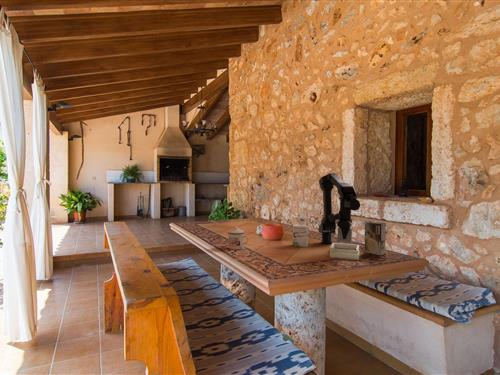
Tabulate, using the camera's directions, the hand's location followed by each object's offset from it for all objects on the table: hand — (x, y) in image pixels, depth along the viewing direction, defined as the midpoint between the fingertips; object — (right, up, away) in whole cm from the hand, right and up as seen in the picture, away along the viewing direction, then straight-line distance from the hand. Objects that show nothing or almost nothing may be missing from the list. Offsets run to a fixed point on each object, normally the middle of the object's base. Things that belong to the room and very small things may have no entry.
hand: (344, 238), depth 168 cm
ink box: (-21, -7, +15) cm, 27 cm away
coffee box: (+15, -8, -1) cm, 17 cm away
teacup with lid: (-56, -7, +7) cm, 57 cm away
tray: (-3, -8, -9) cm, 12 cm away
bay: (+1, -7, +3) cm, 8 cm away
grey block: (0, -2, 0) cm, 2 cm away
